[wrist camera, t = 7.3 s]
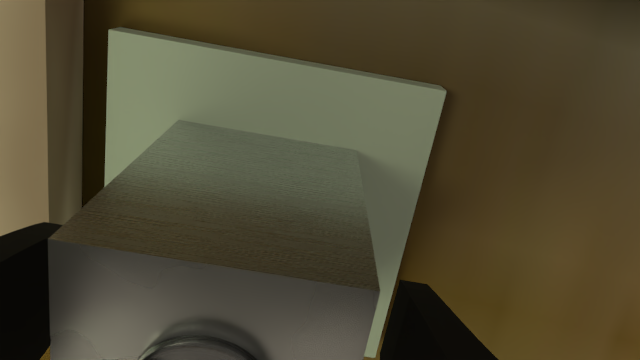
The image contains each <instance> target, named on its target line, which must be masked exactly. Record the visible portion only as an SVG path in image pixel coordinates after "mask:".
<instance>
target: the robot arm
mask: <svg viewBox="0 0 640 360" xmlns="http://www.w3.org/2000/svg"><path fill="white" fill-rule="evenodd" d="M62 226H63V225H60V224H54V223H48V222H42V223H38V224H34V225H31V226H28V227H25V228H22V229H19V230H16V231H13V232H10V233H8V234H5V235H2V236H0V360H39V359H40V358H41V357H42V356H43V354H44V353H45V352H46V350H47V349H48V347H49V346H50V313H49V270H48V238H49V237H51V236H52V235H53V234H54V233H55V232H56V231H57V230H58V229H59V228H60V227H62ZM380 360H498V359H497V358H496V357H495V356H494V355H493V354H492V353H491V352H490V351H489V350H488V349H487V348H486V347H485V346H484V345H483V344H482V343H481V342H480V341H479V340H478V339H477V338H476V337H475V335H474V334H473V333H472V332H471V331H470V330H469V329H468V328H467V327H466V326H465V325H464V324H463V323H462V321H461V320H460V319H459V318H458V317H457V316H456V315H455V314H454V313H453V312H452V310H451V309H450V308H449V307H448V306H447V305H446V304H445V303H444V302H443V300H442V299H441V298H440V297H439V296H438V295H437V294H436V293H435V292H434V291H433V290H432V289H431V288H430V287H429V286H428V285H427V284H422V283H416V282H410V281H404V280H400V282H399V286H398V289H397V293H396V297H395V300H394V304H393V308H392V311H391V315H390V319H389V322H388V326H387V330H386V333H385V337H384V341H383V344H382V348H381V352H380Z"/></svg>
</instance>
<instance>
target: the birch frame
mask: <svg viewBox="0 0 640 360" xmlns="http://www.w3.org/2000/svg"><path fill="white" fill-rule="evenodd" d="M83 20H84V0H0V236H2V235H5V234H8V233H10V232H13V231H16V230H19V229H22V228H25V227H28V226H31V225H34V224H38V223H42V222H48V223H54V224H60V225H64V224H65V223H66V222H67V221H68V220H69V219H70V218H71V217H72V216H74V215H75V214H76V213H77V212H78V211H79V210H80V209H81V208H82V133H83Z"/></svg>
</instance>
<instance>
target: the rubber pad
mask: <svg viewBox="0 0 640 360" xmlns="http://www.w3.org/2000/svg"><path fill="white" fill-rule="evenodd" d="M446 92H447V91H446V90H445V89H444V88H443V87H442V86H440V85H435V84H429V83H424V82H418V81H413V80H407V79H402V78H396V77H391V76H385V75H380V74H374V73H369V72H364V71H358V70H353V69H347V68H342V67H336V66H331V65H325V64H320V63H314V62H309V61H303V60H298V59H292V58H287V57H281V56H276V55H270V54H265V53H260V52H254V51H249V50H243V49H238V48H232V47H227V46H221V45H216V44H210V43H205V42H199V41H194V40H188V39H183V38H177V37H172V36H167V35H161V34H156V33H150V32H145V31H139V30H134V29H128V28H123V27H118V28H114V29H109V32H108V70H107V108H106V147H105V185H104V187H105V186H106V185H108V184H109V183H110V182H111V181H112V180H113V179H114V178H115V177H116V176H117V175H118V174H120V173H121V172H122V171H123V170H124V169H125V168H126V167H127V166H128V165H129V164H131V163H132V162H133V161H134V160H135V159H136V158H137V157H138V156H139V155H140V154H141V153H143V152H144V151H145V150H146V149H147V148H148V147H149V146H150V145H151V144H152V143H154V142H155V141H156V140H157V139H158V138H159V137H160V136H161V135H162V134H163V133H164V132H166V131H167V130H168V129H169V128H170V127H171V126H172V125H173V124H174V123H175V122H177V121H178V120H182V121H188V122H194V123H200V124H206V125H211V126H217V127H223V128H229V129H235V130H241V131H247V132H252V133H258V134H264V135H270V136H276V137H282V138H288V139H293V140H299V141H305V142H311V143H317V144H323V145H329V146H334V147H340V148H346V149H352V150H357V155H358V161H359V167H360V173H361V179H362V185H363V191H364V197H365V203H366V209H367V215H368V221H369V227H370V233H371V238H372V244H373V250H374V256H375V262H376V268H377V274H378V280H379V286H380V295H379V299H378V303H377V307H376V311H375V315H374V319H373V323H372V327H371V330H370V334H369V338H368V342H367V346H366V350H365V354H364V356H365V357H372V358H375V356H376V352H377V348H378V345H379V341H380V337H381V333H382V330H383V326H384V322H385V319H386V315H387V311H388V307H389V304H390V300H391V296H392V293H393V289H394V285H395V282H396V278H397V274H398V270H399V267H400V263H401V259H402V256H403V252H404V248H405V244H406V241H407V237H408V233H409V230H410V226H411V222H412V218H413V215H414V211H415V207H416V204H417V200H418V196H419V192H420V189H421V185H422V181H423V178H424V174H425V170H426V166H427V163H428V159H429V155H430V152H431V148H432V144H433V140H434V137H435V133H436V129H437V126H438V122H439V118H440V114H441V111H442V107H443V103H444V100H445V96H446Z"/></svg>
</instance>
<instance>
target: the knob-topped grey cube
mask: <svg viewBox="0 0 640 360" xmlns="http://www.w3.org/2000/svg"><path fill="white" fill-rule="evenodd" d="M48 270H49V313H50V356H51V360H363V358H364V354H365V350H366V346H367V342H368V338H369V334H370V330H371V327H372V323H373V319H374V315H375V311H376V307H377V303H378V299H379V295H380V286H379V280H378V274H377V268H376V262H375V256H374V250H373V244H372V238H371V233H370V227H369V221H368V215H367V209H366V203H365V197H364V191H363V185H362V179H361V173H360V167H359V161H358V155H357V150H352V149H346V148H340V147H334V146H329V145H323V144H317V143H311V142H305V141H299V140H293V139H288V138H282V137H276V136H270V135H264V134H258V133H252V132H247V131H241V130H235V129H229V128H223V127H217V126H211V125H206V124H200V123H194V122H188V121H182V120H178V121H177V122H175V123H174V124H173V125H172V126H171V127H170V128H169V129H168V130H167V131H166V132H164V133H163V134H162V135H161V136H160V137H159V138H158V139H157V140H156V141H155V142H154V143H152V144H151V145H150V146H149V147H148V148H147V149H146V150H145V151H144V152H143V153H141V154H140V155H139V156H138V157H137V158H136V159H135V160H134V161H133V162H132V163H131V164H129V165H128V166H127V167H126V168H125V169H124V170H123V171H122V172H121V173H120V174H118V175H117V176H116V177H115V178H114V179H113V180H112V181H111V182H110V183H109V184H108V185H106V186H105V187H104V188H103V189H102V190H101V191H100V192H99V193H98V194H97V195H95V196H94V197H93V198H92V199H91V200H90V201H89V202H88V203H87V204H86V205H85V206H83V207H82V208H81V209H80V210H79V211H78V212H77V213H76V214H75V215H74V216H72V217H71V218H70V219H69V220H68V221H67V222H66V223H65V224H64V225H63V226H62V227H60V228H59V229H58V230H57V231H56V232H55V233H54V234H53V235H52V236H51V237H49V238H48Z"/></svg>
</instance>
